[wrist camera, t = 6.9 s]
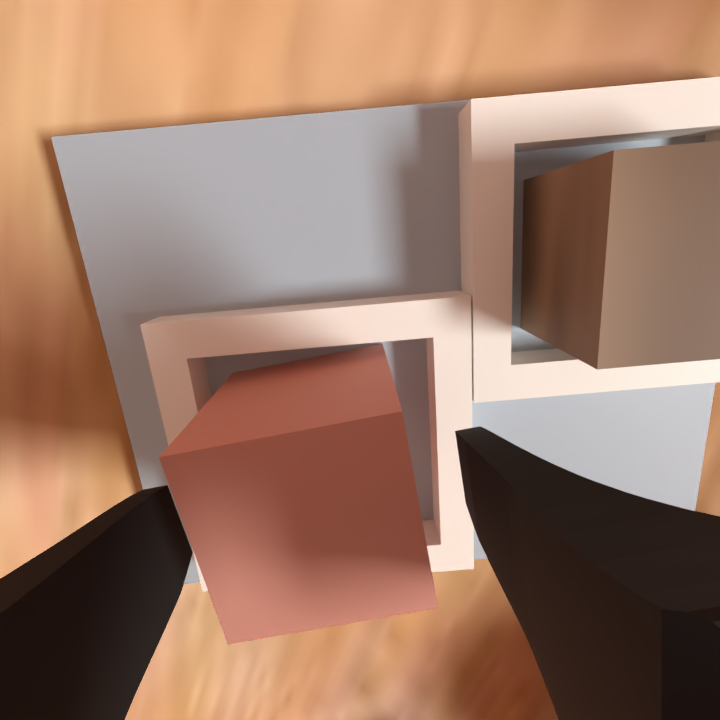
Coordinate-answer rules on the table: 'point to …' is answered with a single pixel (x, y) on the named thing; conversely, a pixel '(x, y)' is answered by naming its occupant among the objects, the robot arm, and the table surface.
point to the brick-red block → (303, 497)
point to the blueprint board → (380, 279)
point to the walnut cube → (626, 256)
